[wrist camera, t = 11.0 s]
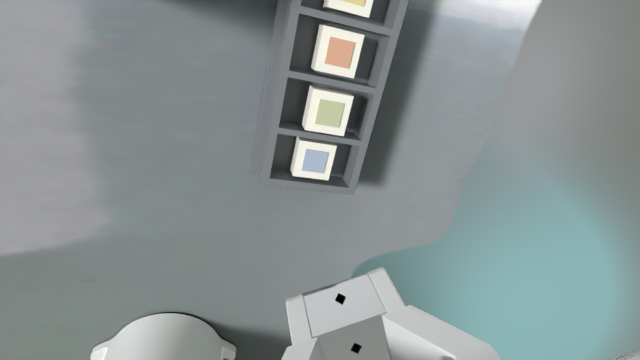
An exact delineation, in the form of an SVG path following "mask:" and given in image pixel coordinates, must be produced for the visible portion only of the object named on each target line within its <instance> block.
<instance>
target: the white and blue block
mask: <svg viewBox="0 0 640 360" xmlns="http://www.w3.org/2000/svg"><path fill="white" fill-rule="evenodd" d="M336 148H337V145H336V144H335V143H334V142H329V141H323V140H316V139H310V138H304V137H297V138H296V143H295V148H294V153H293V158H292V163H291V168H290V169H291V173H292V176H297V177H305V178H313V179H321V180H329V176H330V172H331V168H332V164H333V160H334V156H335V152H336Z"/></svg>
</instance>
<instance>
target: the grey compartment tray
mask: <svg viewBox="0 0 640 360" xmlns="http://www.w3.org/2000/svg"><path fill="white" fill-rule="evenodd" d="M408 2H409V0H373V4H372V8H371V12H370V16H369V18H362V17H358V16H354V15H350V14H346V13H342V12H339V11H335V10H331V9H327V8H323V4H324V0H277V7H276V13H275V19H274V26H273V32H272V38H271V45H270V51H269V58H268V64H267V70H266V77H265V83H264V90H263V96H262V102H261V109H260V115H259V122H258V128H257V134H256V141H255V147H254V154H253V160H252V172H255V173H259V174H260V183H261V185H269V186H278V187H287V188H296V189H304V190H313V191H322V192H331V193H339V194H348V195H354V193H355V189H356V186H357V182H358V179H359V175H360V171H361V168H362V164H363V161H364V157H365V154H366V150H367V147H368V143H369V140H370V136H371V133H372V129H373V126H374V122H375V119H376V115H377V111H378V108H379V104H380V101H381V97H382V94H383V90H384V87H385V83H386V80H387V76H388V73H389V69H390V66H391V62H392V58H393V55H394V51H395V48H396V44H397V41H398V37H399V34H400V30H401V27H402V23H403V20H404V16H405V13H406V9H407V5H408ZM319 25H325V26H330V27H334V28H338V29H342V30H346V31H350V32H354V33H358V34H362V35H365V36H364V40H363V44H362V48H361V52H360V56H359V60H358V64H357V68H356V72H355V76H354V78H349V77H344V76H339V75H335V74H330V73H325V72H320V71H315V70H313V69H312V68H311V63H312V58H313V53H314V48H315V44H316V39H317V34H318V29H319ZM310 85H313V86H318V87H323V88H328V89H333V90H338V91H343V92H348V93H350V94H351V95H352V96H354V98H353V102H352V106H351V110H350V114H349V118H348V121H347V125H346V129H345V133H344V136H339V135H333V134H326V133H320V132H314V131H308V130H305V129H304V127H303V126H302V121H303V116H304V111H305V106H306V101H307V97H308V92H309V87H310ZM297 137H304V138H310V139H316V140H323V141H329V142H334V143H335V144H336V145H337V148H336V152H335V156H334V160H333V164H332V168H331V172H330V176H329V180H321V179H313V178H305V177H297V176H292V173H291V169H290V168H291V163H292V158H293V153H294V148H295V143H296V138H297Z"/></svg>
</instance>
